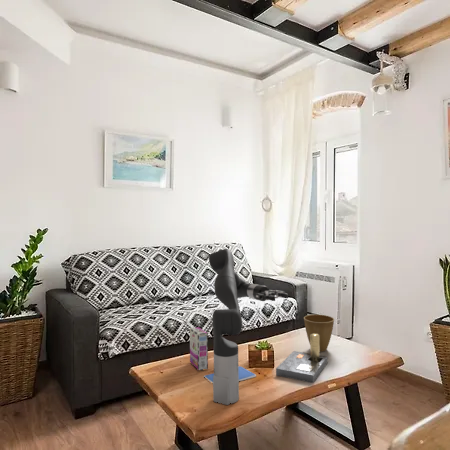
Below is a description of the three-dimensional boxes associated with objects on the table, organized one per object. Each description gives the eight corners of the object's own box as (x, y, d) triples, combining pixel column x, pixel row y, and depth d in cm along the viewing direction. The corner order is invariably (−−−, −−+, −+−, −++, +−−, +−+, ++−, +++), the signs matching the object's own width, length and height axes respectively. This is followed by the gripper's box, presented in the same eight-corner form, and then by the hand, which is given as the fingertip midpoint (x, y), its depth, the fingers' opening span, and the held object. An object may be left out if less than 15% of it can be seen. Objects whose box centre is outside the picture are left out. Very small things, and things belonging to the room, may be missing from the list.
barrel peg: (318, 368, 170) (318, 336, 170) (309, 366, 172) (309, 335, 172) (320, 364, 173) (320, 334, 173) (311, 363, 175) (311, 333, 175)
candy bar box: (208, 369, 170) (208, 332, 170) (198, 371, 168) (197, 334, 167) (199, 361, 180) (199, 326, 180) (189, 362, 178) (189, 327, 178)
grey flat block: (313, 382, 155) (313, 374, 155) (276, 375, 163) (276, 367, 162) (327, 362, 176) (327, 355, 176) (293, 357, 184) (293, 350, 184)
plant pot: (298, 346, 198) (298, 316, 198) (322, 343, 204) (322, 313, 203) (315, 356, 184) (314, 323, 184) (340, 352, 190) (340, 320, 189)
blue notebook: (218, 389, 151) (218, 386, 151) (202, 378, 162) (202, 375, 162) (257, 378, 162) (257, 374, 162) (240, 368, 172) (240, 365, 172)
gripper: (247, 286, 187) (270, 291, 173) (268, 283, 195) (291, 287, 182) (247, 301, 187) (270, 307, 174) (268, 297, 195) (292, 303, 182)
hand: (281, 297), depth 178 cm, fingers open, 8 cm apart
